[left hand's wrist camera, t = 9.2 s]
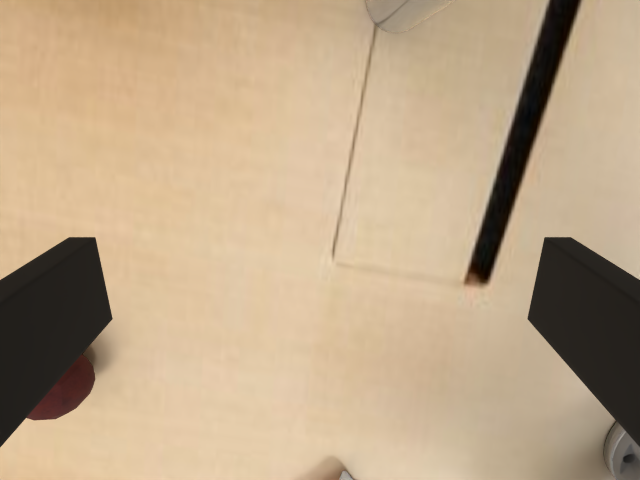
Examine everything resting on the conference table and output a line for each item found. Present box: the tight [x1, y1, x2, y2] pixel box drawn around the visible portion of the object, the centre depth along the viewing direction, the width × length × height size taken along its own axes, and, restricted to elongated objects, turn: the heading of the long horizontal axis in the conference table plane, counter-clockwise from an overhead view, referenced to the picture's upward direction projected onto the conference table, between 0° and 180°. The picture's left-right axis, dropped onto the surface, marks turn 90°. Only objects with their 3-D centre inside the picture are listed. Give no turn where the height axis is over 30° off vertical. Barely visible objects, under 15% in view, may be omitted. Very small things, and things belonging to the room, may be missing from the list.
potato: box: [26, 354, 95, 420], centre depth 41 cm, size 7×8×7 cm
